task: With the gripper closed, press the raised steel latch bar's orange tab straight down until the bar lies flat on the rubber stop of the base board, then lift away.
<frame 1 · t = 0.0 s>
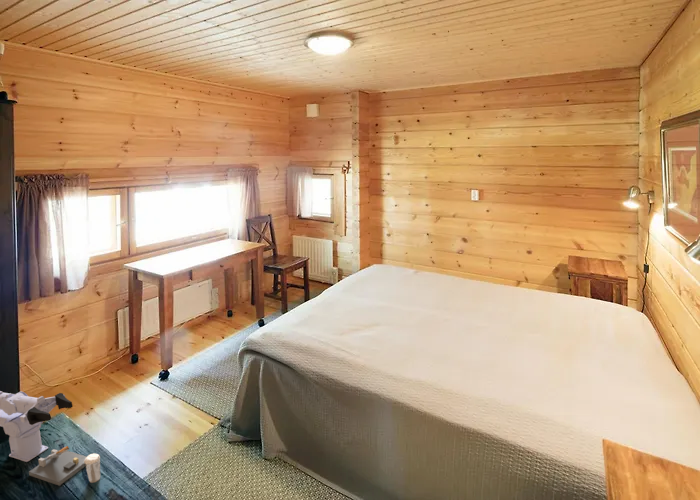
hand: (60, 410, 142), 22 cm above the table, tool horizontal, fingers open, 7 cm apart
milkshake: (95, 480, 140), on the table
base board: (61, 468, 145), on the table
latch bar: (56, 453, 145), point 6 cm above the table, hinge at 30.0°
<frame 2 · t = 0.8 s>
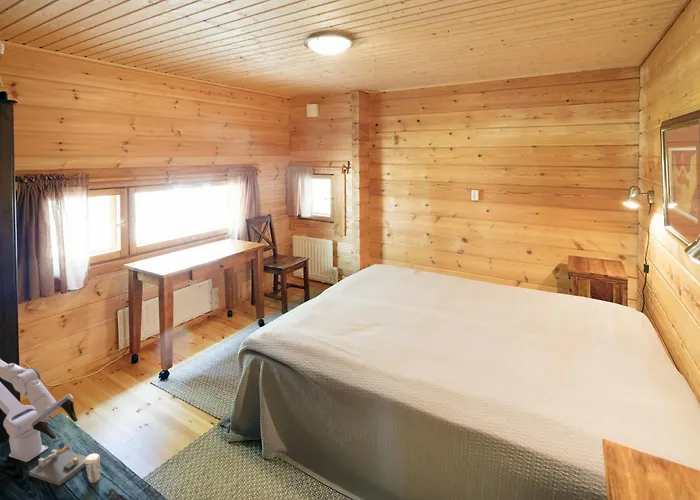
hand: (65, 429, 142), 16 cm above the table, tool tilted 50°, fingers open, 7 cm apart
nothing on the table moved.
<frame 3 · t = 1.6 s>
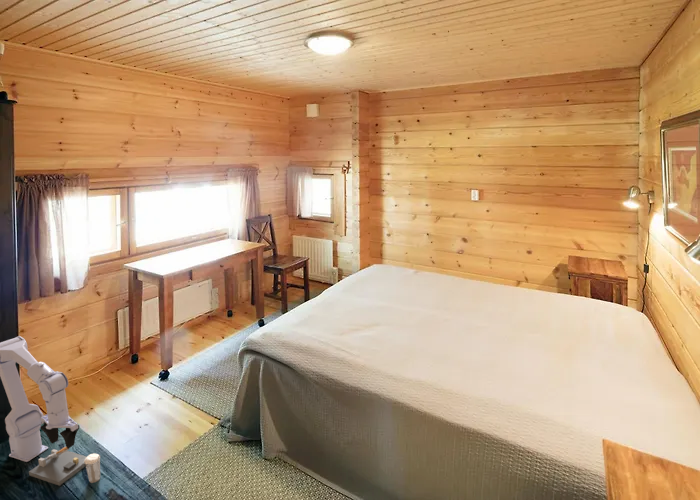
hand: (62, 444, 142), 10 cm above the table, tool pointing down, fingers open, 7 cm apart
nothing on the table moved.
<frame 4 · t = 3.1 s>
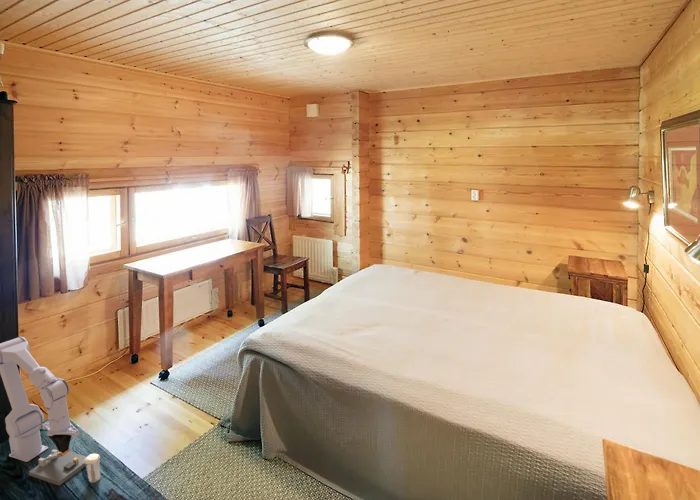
hand: (63, 450, 143), 8 cm above the table, tool pointing down, fingers closed
latch bar: (56, 454, 145), point 5 cm above the table, hinge at 25.7°, touching gripper
everything else where it was.
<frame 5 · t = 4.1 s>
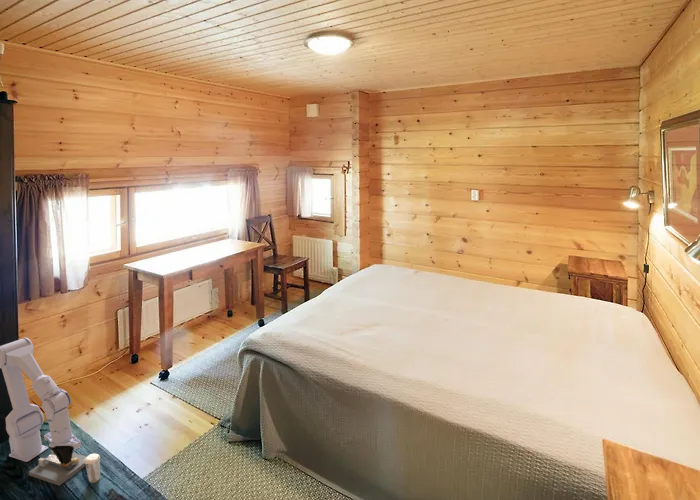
hand: (65, 461, 144), 4 cm above the table, tool pointing down, fingers closed
latch bar: (58, 460, 145), point 3 cm above the table, hinge at -0.7°, touching base board, gripper
everything else where it was.
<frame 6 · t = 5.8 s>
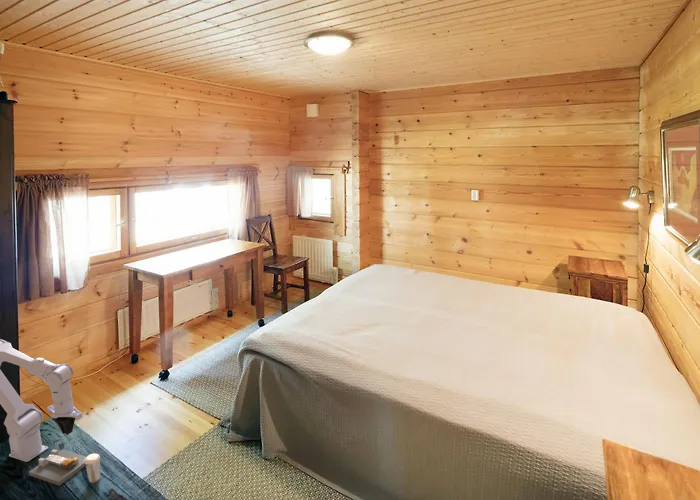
hand: (67, 432, 150), 9 cm above the table, tool pointing down, fingers closed
latch bar: (58, 460, 145), point 3 cm above the table, hinge at -0.6°, touching base board
everything else where it was.
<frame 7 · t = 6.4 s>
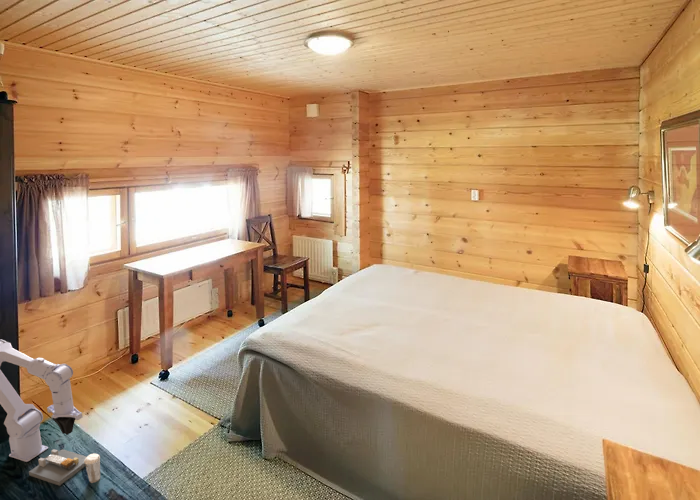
hand: (67, 432, 150), 9 cm above the table, tool pointing down, fingers closed
nothing on the table moved.
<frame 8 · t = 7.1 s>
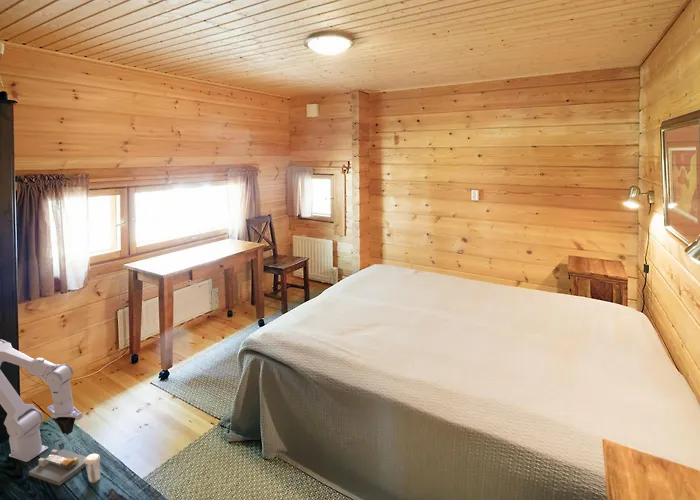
hand: (67, 432, 150), 9 cm above the table, tool pointing down, fingers closed
nothing on the table moved.
at the end: latch bar at -1° (first picture: +30°); milkshake moved 0.2 cm from its start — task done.
